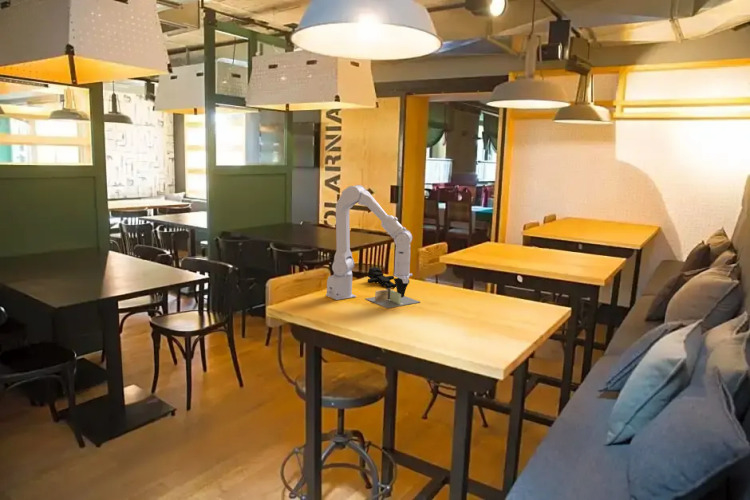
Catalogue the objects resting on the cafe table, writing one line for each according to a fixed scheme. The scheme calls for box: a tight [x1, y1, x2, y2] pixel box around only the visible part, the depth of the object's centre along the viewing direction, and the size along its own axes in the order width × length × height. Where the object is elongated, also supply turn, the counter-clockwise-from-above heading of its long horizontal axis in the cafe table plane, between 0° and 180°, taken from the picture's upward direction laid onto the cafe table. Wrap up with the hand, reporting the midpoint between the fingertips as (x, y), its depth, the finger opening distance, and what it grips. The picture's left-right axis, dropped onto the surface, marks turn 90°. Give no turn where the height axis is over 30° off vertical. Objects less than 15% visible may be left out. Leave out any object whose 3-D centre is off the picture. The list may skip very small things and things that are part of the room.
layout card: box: [365, 295, 421, 309], centre depth 211 cm, size 16×14×1 cm
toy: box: [367, 266, 396, 289], centre depth 235 cm, size 14×6×15 cm
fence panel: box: [389, 289, 401, 304], centre depth 208 cm, size 7×1×4 cm, turn 30°
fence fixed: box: [374, 288, 392, 301], centre depth 210 cm, size 7×1×5 cm, turn 126°
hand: (400, 297), depth 208 cm, fingers closed
